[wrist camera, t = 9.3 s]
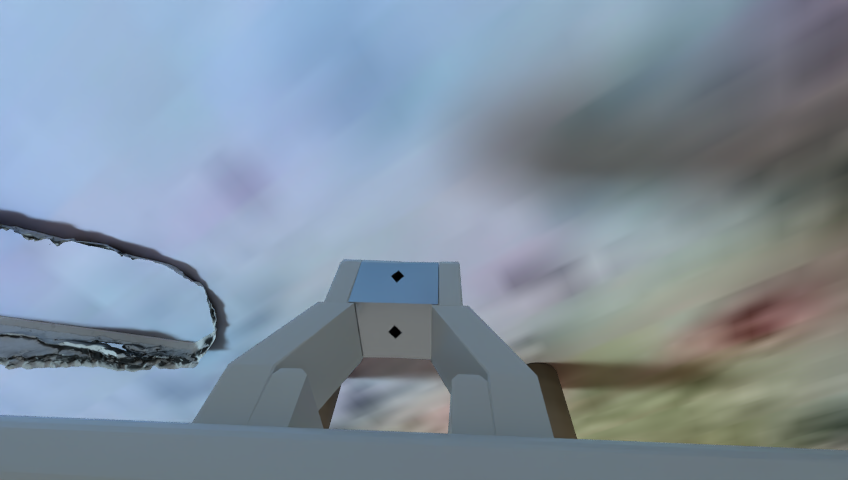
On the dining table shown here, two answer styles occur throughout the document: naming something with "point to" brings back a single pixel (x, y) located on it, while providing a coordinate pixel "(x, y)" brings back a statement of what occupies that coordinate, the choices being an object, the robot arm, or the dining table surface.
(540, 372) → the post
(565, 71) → the dining table surface
